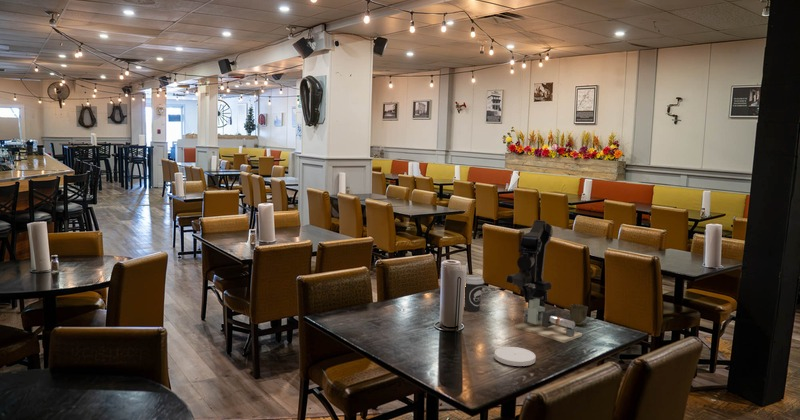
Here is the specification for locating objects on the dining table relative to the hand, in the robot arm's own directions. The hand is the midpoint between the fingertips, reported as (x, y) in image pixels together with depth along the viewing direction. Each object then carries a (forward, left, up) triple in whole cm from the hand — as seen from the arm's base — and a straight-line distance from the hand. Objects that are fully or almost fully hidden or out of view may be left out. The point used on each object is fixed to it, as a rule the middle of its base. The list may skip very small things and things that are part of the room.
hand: (527, 302), depth 238 cm
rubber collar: (+11, 0, -7) cm, 13 cm away
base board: (+11, 0, -10) cm, 14 cm away
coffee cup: (-28, -2, -10) cm, 30 cm away
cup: (+13, +18, -10) cm, 24 cm away
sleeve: (+5, 0, -7) cm, 8 cm away
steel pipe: (+11, 0, -10) cm, 14 cm away
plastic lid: (+21, -36, -10) cm, 43 cm away
